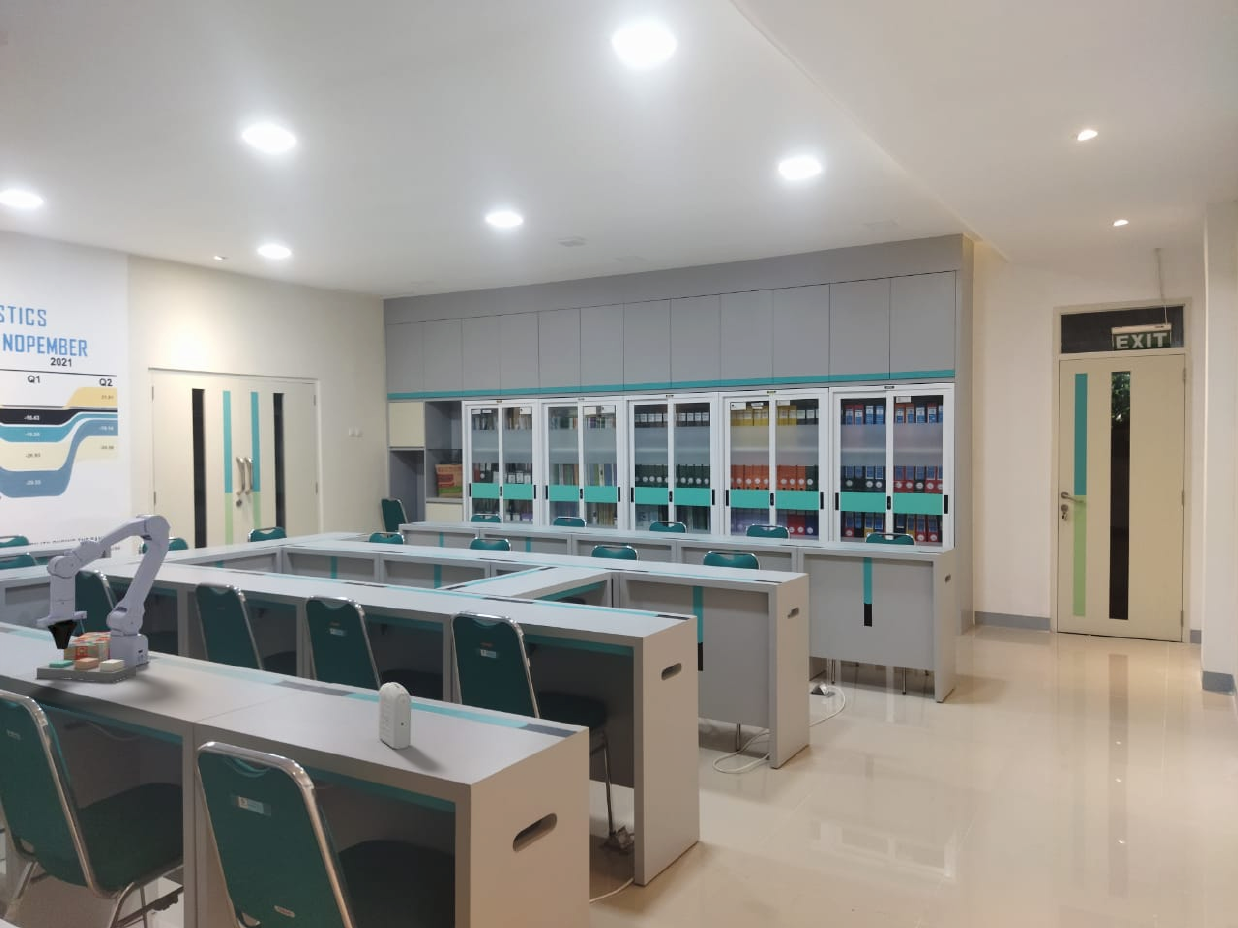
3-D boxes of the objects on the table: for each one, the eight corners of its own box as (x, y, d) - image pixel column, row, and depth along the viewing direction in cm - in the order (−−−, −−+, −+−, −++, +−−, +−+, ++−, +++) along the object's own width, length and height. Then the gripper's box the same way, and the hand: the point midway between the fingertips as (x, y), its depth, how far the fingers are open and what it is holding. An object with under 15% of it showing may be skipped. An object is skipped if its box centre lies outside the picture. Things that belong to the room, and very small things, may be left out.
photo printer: (413, 747, 175) (414, 687, 175) (393, 751, 172) (394, 690, 172) (395, 734, 183) (396, 677, 183) (376, 737, 180) (376, 680, 181)
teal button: (73, 673, 234) (74, 660, 234) (61, 676, 230) (61, 664, 230) (61, 672, 235) (61, 660, 235) (49, 676, 231) (49, 663, 231)
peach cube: (98, 671, 232) (98, 658, 232) (87, 674, 228) (87, 661, 228) (86, 670, 233) (86, 657, 233) (74, 673, 229) (74, 660, 229)
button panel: (135, 675, 232) (135, 666, 232) (113, 682, 225) (113, 672, 225) (61, 670, 237) (61, 661, 237) (36, 677, 229) (36, 668, 229)
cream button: (123, 672, 231) (124, 659, 231) (112, 676, 227) (112, 663, 227) (111, 671, 232) (111, 659, 232) (99, 675, 228) (99, 662, 228)
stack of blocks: (62, 668, 240) (111, 665, 243) (62, 646, 240) (111, 643, 243) (87, 652, 260) (131, 650, 264) (87, 632, 260) (131, 630, 264)
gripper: (72, 595, 240) (71, 642, 240) (27, 603, 226) (26, 653, 226) (93, 596, 239) (92, 643, 239) (49, 604, 225) (49, 654, 225)
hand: (62, 648), depth 232 cm, fingers closed
